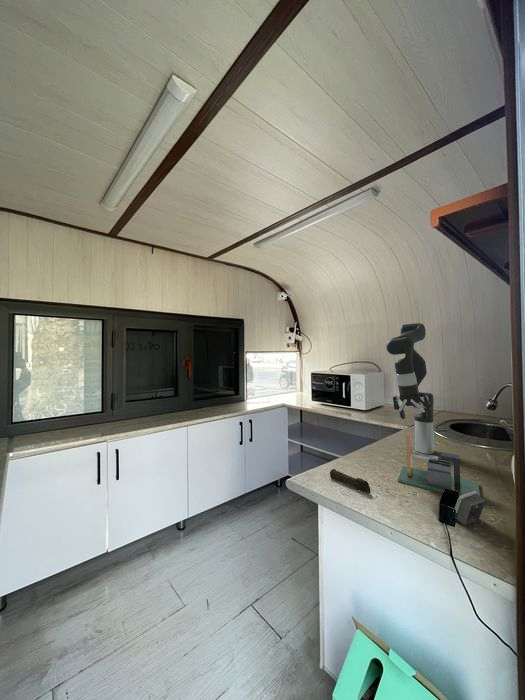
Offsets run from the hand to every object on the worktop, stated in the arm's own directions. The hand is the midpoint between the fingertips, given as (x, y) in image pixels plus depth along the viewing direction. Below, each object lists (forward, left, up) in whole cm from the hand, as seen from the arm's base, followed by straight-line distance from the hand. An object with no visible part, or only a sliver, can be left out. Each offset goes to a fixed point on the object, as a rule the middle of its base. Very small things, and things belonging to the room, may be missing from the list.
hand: (414, 419), depth 116 cm
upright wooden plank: (-4, +2, -25) cm, 26 cm away
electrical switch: (+20, +18, -27) cm, 38 cm away
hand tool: (+18, -22, -28) cm, 40 cm away
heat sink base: (-4, +8, -27) cm, 28 cm away
